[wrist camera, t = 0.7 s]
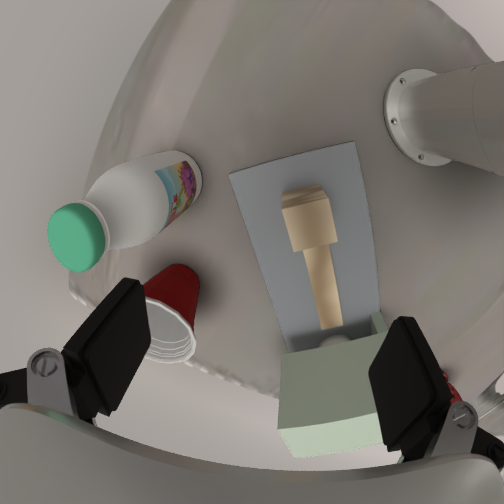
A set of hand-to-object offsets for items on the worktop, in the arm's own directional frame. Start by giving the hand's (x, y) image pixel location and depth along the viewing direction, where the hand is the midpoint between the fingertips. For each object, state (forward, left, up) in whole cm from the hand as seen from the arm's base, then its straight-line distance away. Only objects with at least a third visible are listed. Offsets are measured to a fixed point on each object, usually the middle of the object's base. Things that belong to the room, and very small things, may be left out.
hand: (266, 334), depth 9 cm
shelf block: (-2, +26, -25) cm, 36 cm away
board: (-2, +15, -25) cm, 29 cm away
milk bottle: (+12, -5, -25) cm, 28 cm away
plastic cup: (+17, +9, -25) cm, 32 cm away
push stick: (-2, +10, -24) cm, 26 cm away
